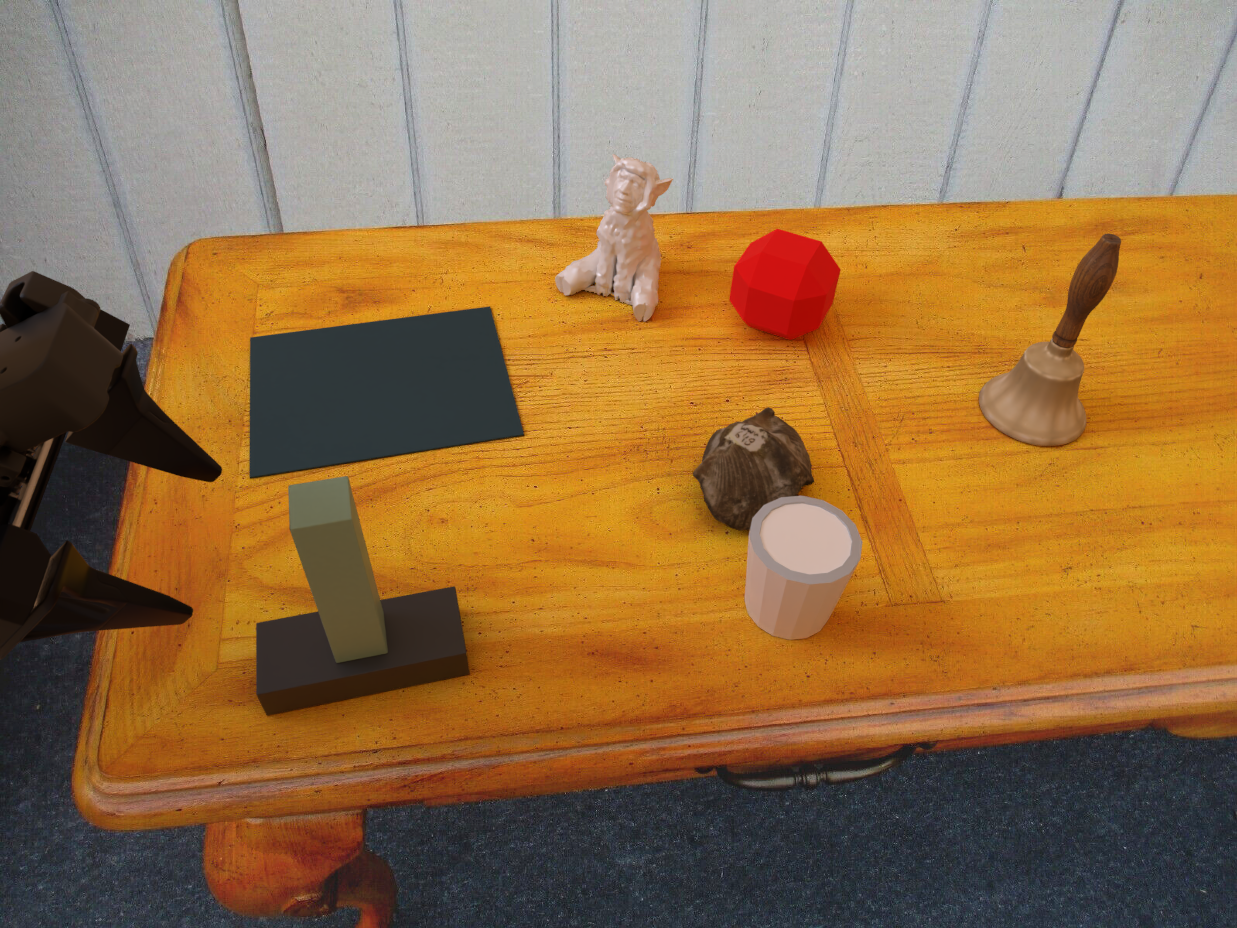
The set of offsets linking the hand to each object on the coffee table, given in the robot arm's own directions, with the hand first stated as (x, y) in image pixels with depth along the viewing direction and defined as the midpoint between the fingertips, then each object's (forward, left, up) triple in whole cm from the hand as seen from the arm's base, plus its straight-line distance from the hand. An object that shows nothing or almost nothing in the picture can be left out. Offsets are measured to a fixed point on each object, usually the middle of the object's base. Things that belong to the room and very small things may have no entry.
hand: (204, 541), depth 49 cm
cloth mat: (+9, +24, -12) cm, 29 cm away
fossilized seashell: (+34, +7, -13) cm, 37 cm away
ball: (+43, +25, -13) cm, 52 cm away
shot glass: (+33, -3, -13) cm, 36 cm away
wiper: (+6, -1, -12) cm, 14 cm away
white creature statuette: (+31, +33, -13) cm, 47 cm away
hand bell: (+59, +10, -13) cm, 61 cm away
